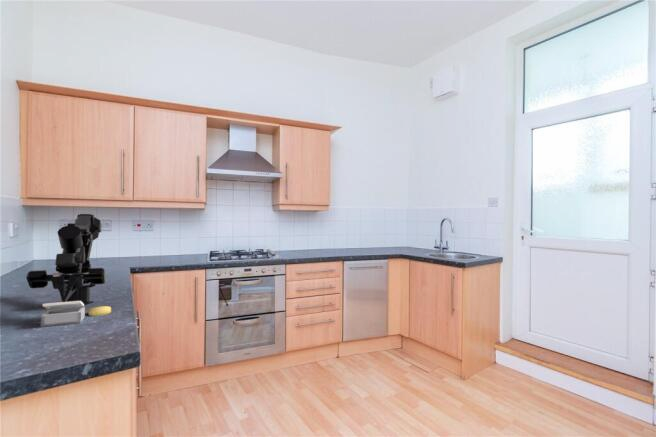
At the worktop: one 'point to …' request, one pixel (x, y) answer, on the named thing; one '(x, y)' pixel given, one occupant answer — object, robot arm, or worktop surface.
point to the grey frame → (62, 317)
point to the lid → (63, 305)
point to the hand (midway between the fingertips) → (63, 301)
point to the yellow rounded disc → (99, 311)
